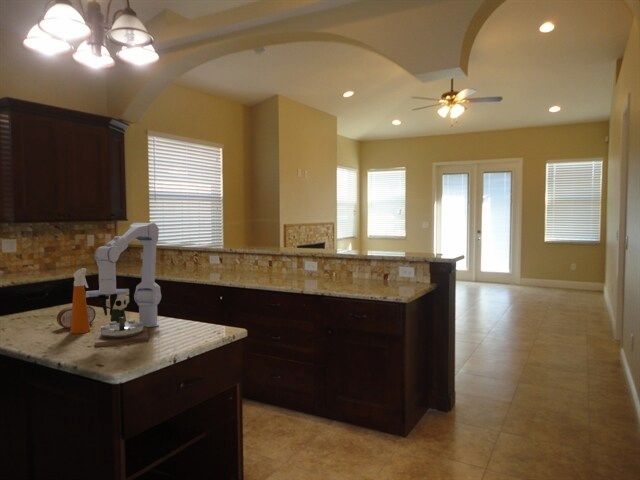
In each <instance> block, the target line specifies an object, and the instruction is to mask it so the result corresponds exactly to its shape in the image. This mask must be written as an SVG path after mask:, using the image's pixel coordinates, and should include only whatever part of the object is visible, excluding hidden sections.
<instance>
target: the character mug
mask: <svg viewBox="0 0 640 480" xmlns="http://www.w3.org/2000/svg"><path fill="white" fill-rule="evenodd" d="M112 294H113V293H112ZM129 303H130V295H117V299H116V301H115V304H114V306H113V310H112V315H110V322H114V321H116V322H117V323H119V317H125V322H127V319H126V318H127V317H126V312H125V308H127V307H128V304H129ZM106 306H107V308H109V309H110V296H108V299H107V298H106ZM110 322H109V323H110Z"/></svg>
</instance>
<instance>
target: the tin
mask: <svg viewBox="0 0 640 480" xmlns="http://www.w3.org/2000/svg"><path fill="white" fill-rule="evenodd" d="M87 311H88V318H89V325H90V324H91V323H93V322H94V320H95V319H96V315H97V314H96V310H95V309H94V307H92V306H90V305H88V304H87ZM71 318H72V306H69V307H65V308H63V309H61V310H60V311H59V312H58V314H57V316H56V323H57V324H58V325H59V326H60V327H63V328H65V329H71Z"/></svg>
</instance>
